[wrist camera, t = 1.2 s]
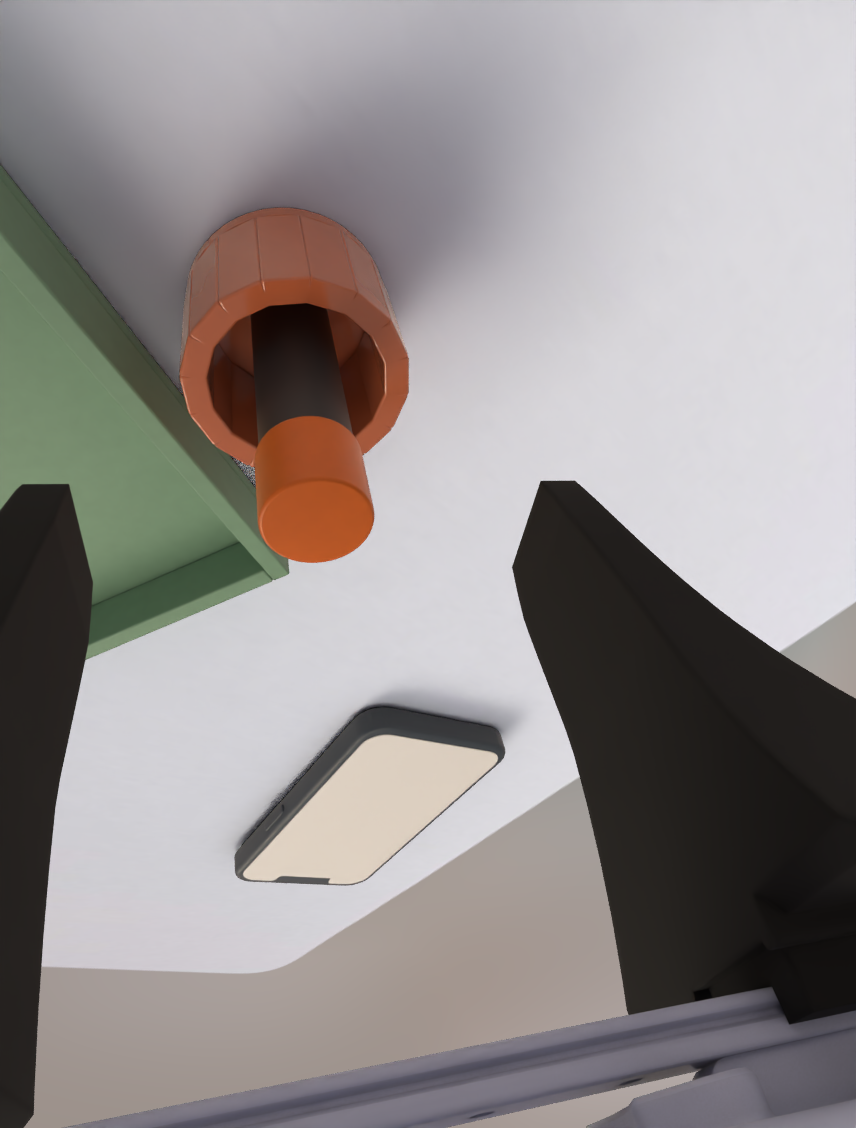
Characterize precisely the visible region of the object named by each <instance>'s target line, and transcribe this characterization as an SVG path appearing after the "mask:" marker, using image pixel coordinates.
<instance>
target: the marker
mask: <svg viewBox="0 0 856 1128" xmlns="http://www.w3.org/2000/svg"><path fill="white" fill-rule="evenodd" d="M250 317H251V333H252V349H253V365H254V381H255V397H256V413H257V429H258V447H257V449H256V453H255V460H254V462H255V480H256V498H257V517H258V528H259V531H260V534H261V536H262V538H263V540H264V541H265V542H266V544H267V545H268V546H269V547H270V548H271V549H272V550H273V551H275V552H276V553H278V554H279V555H281V556H283V557H286V558H288V559H291V560H294V561H299V562H307V563H317V562H326V561H331V560H334V559H337V558H340V557H343V556H345V555H347V554H349V553H350V552H352V551H354V550H355V549H356V548H358V547H359V546H360V545H361V544H362V543H363V542H364V541H365V539H366V538H367V537H368V535H369V533H370V531H371V529H372V526H373V523H374V508H373V503H372V499H371V494H370V489H369V485H368V480H367V475H366V471H365V466H364V461H363V457H362V452H361V448H360V445H359V443H358V441H357V439H356V438H355V436H354V435H353V433H352V428H351V423H350V418H349V413H348V408H347V404H346V399H345V394H344V389H343V384H342V379H341V375H340V370H339V365H338V360H337V355H336V350H335V346H334V341H333V336H332V331H331V326H330V322H329V317H328V312H327V309H325V308H322V307H319V306H315V305H312V304H309V303H302V304H287V305H273V306H268V307H266V308H264V309H262V310H259V311H257V312H255V313H253V314H251V316H250Z"/></svg>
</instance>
